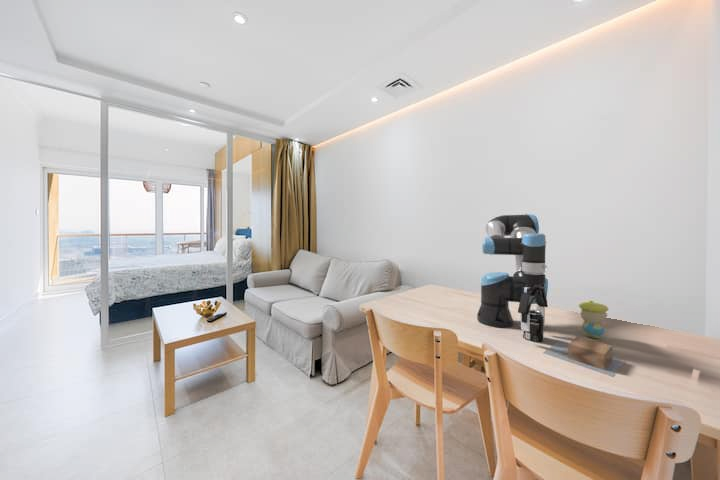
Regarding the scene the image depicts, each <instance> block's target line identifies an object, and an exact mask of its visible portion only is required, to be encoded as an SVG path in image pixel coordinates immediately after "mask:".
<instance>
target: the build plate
mask: <svg viewBox="0 0 720 480" xmlns="http://www.w3.org/2000/svg"><path fill="white" fill-rule="evenodd" d="M542 354H545V355H548V356H550V357H553V358H557V359H559V360H562V361H566V362H568V363H571V364H575V365H577V366H580V367H583V368H586V369H589V370H591V371H594V372H598V373H601V374H604V375H607V376H609V377H613V378H614V377H615V375H616V374H617V373H618V371H619V370H620V369H621V367H622V366H623V365H624V364H625V362H626V361H625V360H620V359H618V358H615V357H612V361H611V363H610V364H609V365H608V366H607V367H606V369H605V370H602V369H599V368H596V367H593V366H590V365H587V364H584V363H581V362H578V361H575V360H572V359H569V358H568V344H567V343H564V342H560V341H557V342H556V343H554V344H553V345H552V346H550V347H548V348H547V349H546V350H544V351H543V352H542Z"/></svg>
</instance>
